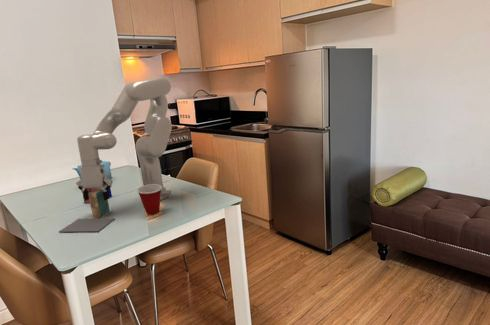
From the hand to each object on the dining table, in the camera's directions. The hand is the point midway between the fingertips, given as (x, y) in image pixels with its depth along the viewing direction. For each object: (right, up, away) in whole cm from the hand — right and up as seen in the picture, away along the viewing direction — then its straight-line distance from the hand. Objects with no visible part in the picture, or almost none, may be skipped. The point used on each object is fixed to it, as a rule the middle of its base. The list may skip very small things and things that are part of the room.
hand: (97, 199), depth 157 cm
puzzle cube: (-10, -3, +25) cm, 27 cm away
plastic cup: (+26, -6, -1) cm, 27 cm away
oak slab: (+1, -7, +2) cm, 8 cm away
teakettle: (-25, +3, +58) cm, 63 cm away
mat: (0, -10, -9) cm, 14 cm away
